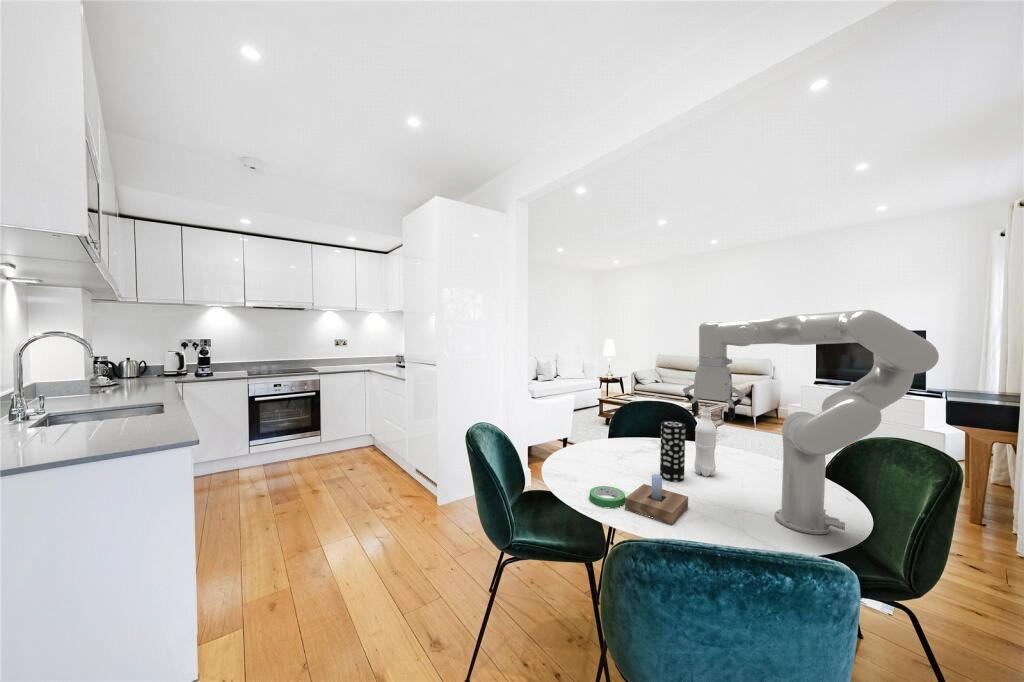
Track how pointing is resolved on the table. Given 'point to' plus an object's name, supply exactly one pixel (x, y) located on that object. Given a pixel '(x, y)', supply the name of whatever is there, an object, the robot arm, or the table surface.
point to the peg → (656, 488)
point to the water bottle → (705, 444)
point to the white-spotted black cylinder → (672, 451)
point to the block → (657, 504)
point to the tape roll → (607, 501)
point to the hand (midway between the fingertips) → (712, 417)
